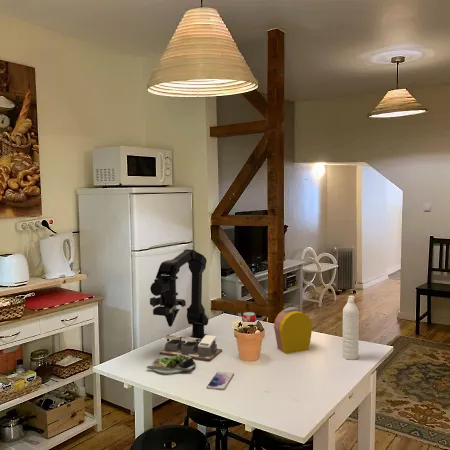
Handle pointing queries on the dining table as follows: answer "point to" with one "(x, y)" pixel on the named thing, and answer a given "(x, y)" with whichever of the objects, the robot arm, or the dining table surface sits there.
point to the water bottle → (350, 330)
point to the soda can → (249, 317)
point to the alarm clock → (292, 330)
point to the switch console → (190, 349)
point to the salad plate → (173, 364)
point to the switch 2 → (207, 341)
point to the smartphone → (220, 381)
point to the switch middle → (189, 339)
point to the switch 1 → (173, 337)
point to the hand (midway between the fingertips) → (170, 326)
